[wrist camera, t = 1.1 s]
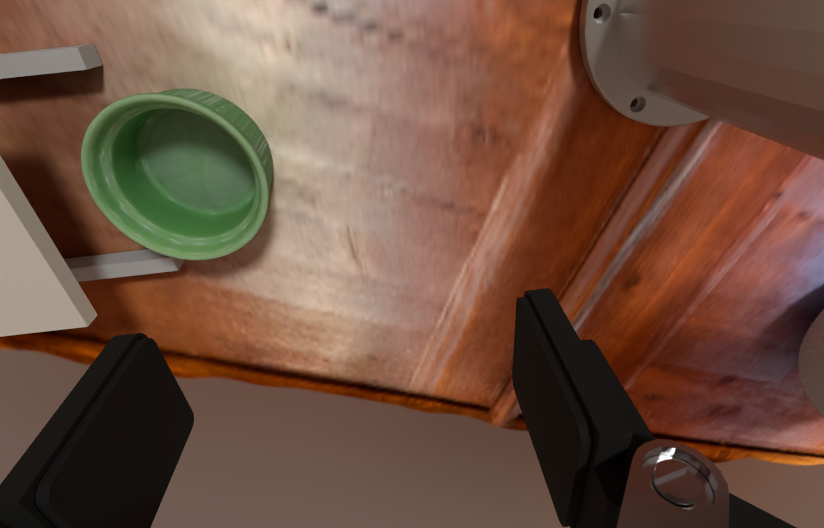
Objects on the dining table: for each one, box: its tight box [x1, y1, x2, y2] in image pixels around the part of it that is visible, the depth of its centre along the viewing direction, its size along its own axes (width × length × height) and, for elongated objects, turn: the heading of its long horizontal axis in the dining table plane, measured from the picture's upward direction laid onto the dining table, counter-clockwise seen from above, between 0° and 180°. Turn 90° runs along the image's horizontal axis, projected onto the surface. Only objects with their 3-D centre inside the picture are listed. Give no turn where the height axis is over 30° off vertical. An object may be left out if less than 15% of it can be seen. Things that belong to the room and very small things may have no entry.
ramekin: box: [81, 89, 273, 260], centre depth 24 cm, size 9×9×4 cm
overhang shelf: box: [0, 44, 185, 337], centre depth 23 cm, size 12×13×6 cm
